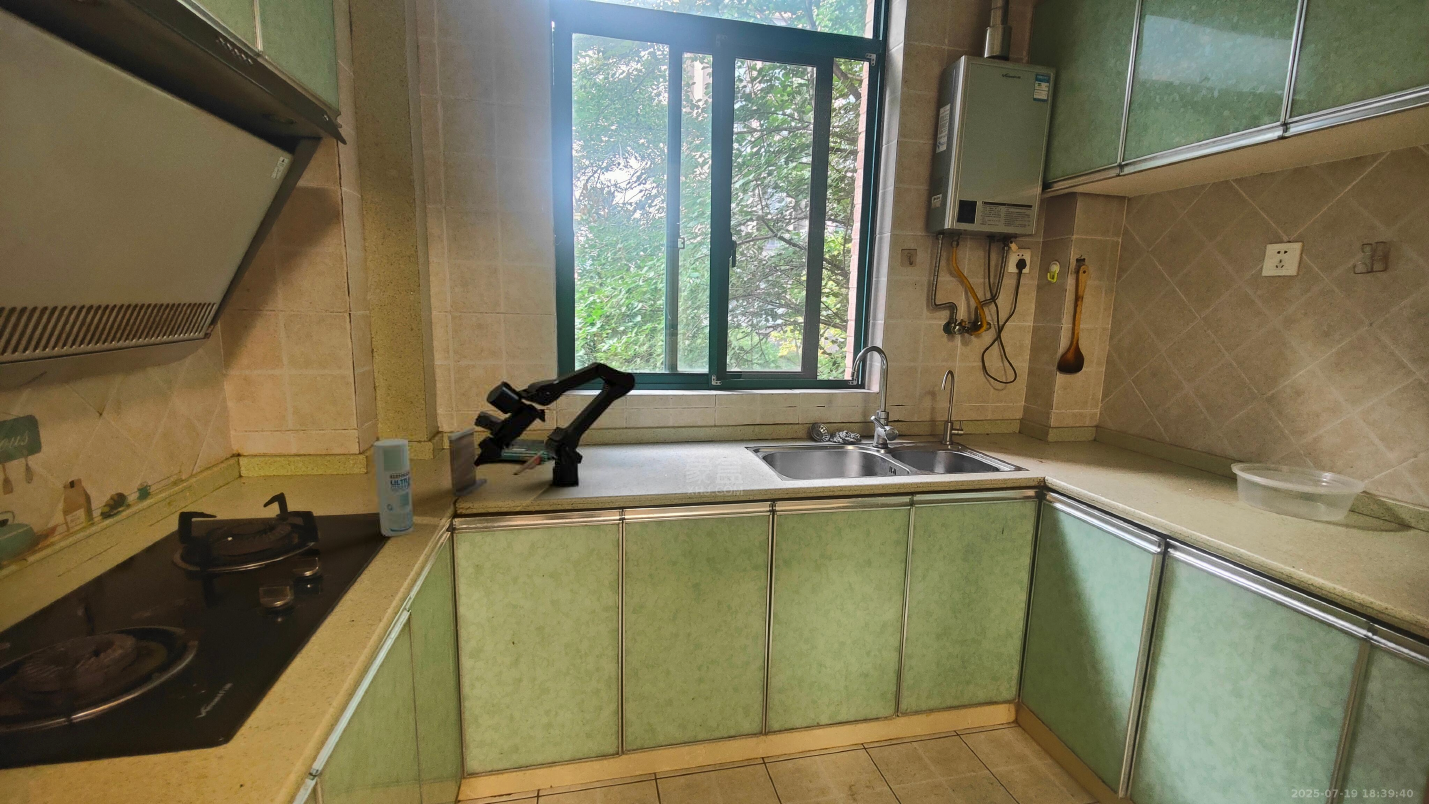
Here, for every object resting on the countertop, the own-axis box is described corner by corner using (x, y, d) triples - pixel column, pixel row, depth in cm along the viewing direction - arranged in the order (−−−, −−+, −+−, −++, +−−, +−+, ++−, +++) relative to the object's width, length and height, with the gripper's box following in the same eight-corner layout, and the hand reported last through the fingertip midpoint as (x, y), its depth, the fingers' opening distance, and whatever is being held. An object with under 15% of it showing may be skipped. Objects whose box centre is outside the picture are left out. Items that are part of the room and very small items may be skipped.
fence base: (487, 485, 160) (486, 478, 159) (463, 500, 148) (462, 492, 147) (480, 485, 160) (479, 478, 159) (455, 499, 148) (455, 492, 148)
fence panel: (477, 481, 159) (474, 427, 156) (456, 493, 149) (452, 435, 146) (472, 481, 159) (469, 427, 156) (450, 493, 149) (447, 435, 146)
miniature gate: (440, 464, 169) (489, 434, 198) (442, 482, 170) (491, 450, 199) (531, 468, 166) (567, 437, 195) (532, 486, 168) (567, 453, 197)
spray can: (392, 539, 124) (385, 447, 120) (374, 532, 127) (366, 443, 124) (420, 529, 129) (414, 440, 126) (402, 523, 132) (396, 437, 129)
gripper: (501, 396, 160) (461, 436, 161) (484, 407, 142) (439, 452, 142) (532, 423, 163) (492, 463, 163) (519, 438, 144) (475, 483, 145)
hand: (475, 464), depth 153 cm, fingers closed
